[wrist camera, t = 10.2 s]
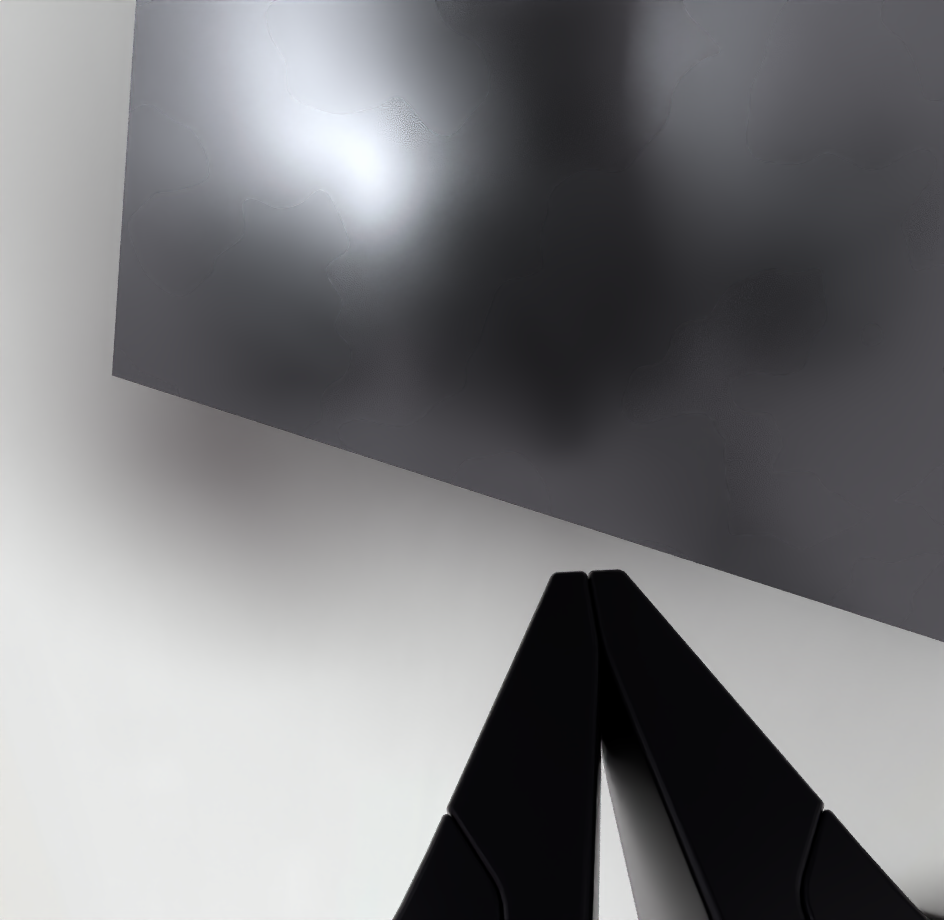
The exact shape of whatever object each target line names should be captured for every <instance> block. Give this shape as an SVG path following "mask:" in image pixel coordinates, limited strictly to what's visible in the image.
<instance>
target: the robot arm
mask: <svg viewBox="0 0 944 920" xmlns="http://www.w3.org/2000/svg"><path fill="white" fill-rule="evenodd" d="M601 751H602V758H603V763H604V768H605V773H606V778H607V783H608V787H609V792H610V796H611V801H612V805H613V809H614V814H615V818H616V823H617V827H618V831H619V836H620V840H621V845H622V849H623V853H624V858H625V862H626V867H627V871H628V875H629V880H630V884H631V889H632V893H633V897H634V902H635V906H636V911H637V915H638V919H639V920H929V919H928V918H927V917H926V916H925V915H924V914H923V913H922V912H921V911H920V910H919V909H918V908H917V907H916V906H915V905H914V904H913V903H912V902H911V901H910V900H909V898H908V897H907V896H906V895H905V894H904V893H903V892H902V891H901V890H900V888H899V887H898V886H897V885H896V884H895V883H894V882H893V881H892V880H891V879H890V877H889V876H888V875H887V874H886V873H885V872H884V871H883V870H882V869H881V867H880V866H879V865H878V864H877V863H876V862H875V861H874V860H873V859H872V858H871V856H870V855H869V854H868V853H867V852H866V851H865V850H864V849H863V848H862V846H861V845H860V844H859V843H858V842H857V840H856V839H855V838H854V837H853V836H852V835H851V833H850V832H849V831H848V830H847V829H846V828H845V826H844V825H843V824H842V823H841V822H840V821H839V819H838V818H837V817H836V816H835V815H834V814H833V812H832V811H830V810H824V811H823V808H824V803H823V802H822V800H821V799H820V798H819V797H818V796H817V794H816V793H815V792H814V791H813V790H812V789H811V787H810V786H809V785H808V784H807V783H806V782H805V780H804V779H803V778H802V777H801V776H800V775H799V773H798V772H797V771H796V770H795V769H794V768H793V767H792V765H791V764H790V763H789V762H788V761H787V760H786V758H785V757H784V756H783V755H782V754H781V753H780V751H779V750H778V749H777V748H776V747H775V746H774V744H773V743H772V742H771V741H770V740H769V739H768V737H767V736H766V735H765V734H764V733H763V732H762V731H761V729H760V728H759V727H758V726H757V725H756V724H755V722H754V721H753V720H752V719H751V718H750V717H749V715H748V714H747V713H746V712H745V711H744V710H743V708H742V707H741V706H740V705H739V704H738V703H737V702H736V700H735V699H734V698H733V697H732V696H731V695H730V693H729V692H728V691H727V690H726V689H725V688H724V686H723V685H722V684H721V683H720V682H719V681H718V679H717V678H716V677H715V676H714V675H713V674H712V673H711V671H710V670H709V669H708V668H707V667H706V666H705V664H704V663H703V662H702V661H701V660H700V659H699V657H698V656H697V655H696V654H695V653H694V652H693V650H692V649H691V648H690V647H689V646H688V645H687V644H686V642H685V641H684V640H683V639H682V638H681V637H680V635H679V634H678V633H677V632H676V631H675V630H674V628H673V627H672V626H671V625H670V624H669V623H668V621H667V620H666V619H665V618H664V617H663V616H662V615H661V613H660V612H659V611H658V610H657V609H656V608H655V606H654V605H653V604H652V603H651V602H650V601H649V599H648V598H647V597H646V596H645V595H644V594H643V592H642V591H641V590H640V589H639V588H638V587H637V586H636V584H635V583H634V582H633V581H632V580H631V579H630V577H629V576H628V575H627V574H626V573H625V572H624V571H622V570H618V569H617V570H595V571H591V572H590V573H589V575H588V576H587V574H586V573H585V572H583V571H574V572H556V573H554V574H553V575H552V576H551V577H550V579H549V582H548V584H547V586H546V588H545V591H544V593H543V595H542V597H541V599H540V602H539V604H538V606H537V608H536V611H535V613H534V615H533V617H532V619H531V622H530V624H529V626H528V628H527V631H526V633H525V635H524V637H523V639H522V642H521V644H520V646H519V648H518V651H517V653H516V655H515V657H514V659H513V662H512V664H511V666H510V668H509V671H508V673H507V675H506V677H505V679H504V682H503V684H502V686H501V688H500V691H499V693H498V695H497V697H496V699H495V702H494V704H493V706H492V708H491V711H490V713H489V715H488V717H487V719H486V722H485V724H484V726H483V728H482V731H481V733H480V735H479V737H478V739H477V742H476V744H475V746H474V748H473V751H472V753H471V755H470V757H469V759H468V762H467V764H466V766H465V768H464V771H463V773H462V775H461V777H460V779H459V782H458V784H457V786H456V788H455V791H454V793H453V795H452V797H451V799H450V802H449V804H448V806H447V813H448V814H445V815H443V817H442V818H441V821H440V823H439V825H438V827H437V830H436V832H435V834H434V836H433V838H432V841H431V843H430V845H429V847H428V850H427V852H426V854H425V856H424V858H423V860H422V862H421V864H420V866H419V868H418V870H417V872H416V874H415V876H414V878H413V880H412V882H411V884H410V887H409V889H408V891H407V893H406V895H405V897H404V899H403V901H402V903H401V905H400V907H399V909H398V910H397V912H396V914H395V916H394V918H393V919H392V920H599V867H600V811H601Z"/></svg>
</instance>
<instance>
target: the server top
mask: <svg viewBox="0 0 944 920" xmlns="http://www.w3.org/2000/svg"><path fill="white" fill-rule="evenodd" d="M112 375H113V376H116V377H120V378H123V379H126V380H129V381H132V382H135V383H138V384H141V385H144V386H148V387H151V388H154V389H157V390H160V391H163V392H166V393H169V394H172V395H176V396H179V397H182V398H185V399H188V400H191V401H194V402H197V403H201V404H204V405H207V406H210V407H213V408H216V409H219V410H222V411H225V412H229V413H232V414H235V415H238V416H241V417H244V418H247V419H250V420H254V421H257V422H260V423H263V424H266V425H269V426H272V427H275V428H278V429H282V430H285V431H288V432H291V433H294V434H297V435H300V436H303V437H307V438H310V439H313V440H316V441H319V442H322V443H325V444H328V445H331V446H335V447H338V448H341V449H344V450H347V451H350V452H353V453H356V454H360V455H363V456H366V457H369V458H372V459H375V460H378V461H381V462H384V463H388V464H391V465H394V466H397V467H400V468H403V469H406V470H409V471H412V472H416V473H419V474H422V475H425V476H428V477H431V478H434V479H437V480H441V481H444V482H447V483H450V484H453V485H456V486H459V487H462V488H465V489H469V490H472V491H475V492H478V493H481V494H484V495H487V496H490V497H494V498H497V499H500V500H503V501H506V502H509V503H512V504H515V505H518V506H522V507H525V508H528V509H531V510H534V511H537V512H540V513H543V514H547V515H550V516H553V517H556V518H559V519H562V520H565V521H568V522H571V523H575V524H578V525H581V526H584V527H587V528H590V529H593V530H596V531H599V532H603V533H606V534H609V535H612V536H615V537H618V538H621V539H624V540H628V541H631V542H634V543H637V544H640V545H643V546H646V547H649V548H652V549H656V550H659V551H662V552H665V553H668V554H671V555H674V556H677V557H681V558H684V559H687V560H690V561H693V562H696V563H699V564H702V565H705V566H709V567H712V568H715V569H718V570H721V571H724V572H727V573H730V574H734V575H737V576H740V577H743V578H746V579H749V580H752V581H755V582H758V583H762V584H765V585H768V586H771V587H774V588H777V589H780V590H783V591H787V592H790V593H793V594H796V595H799V596H802V597H805V598H808V599H811V600H815V601H818V602H821V603H824V604H827V605H830V606H833V607H836V608H839V609H843V610H846V611H849V612H852V613H855V614H858V615H861V616H864V617H868V618H871V619H874V620H877V621H880V622H883V623H886V624H889V625H892V626H896V627H899V628H902V629H905V630H908V631H911V632H914V633H917V634H921V635H924V636H927V637H930V638H933V639H936V640H939V641H942V642H944V0H136V13H135V29H134V44H133V60H132V75H131V91H130V106H129V122H128V137H127V153H126V168H125V184H124V199H123V215H122V230H121V246H120V262H119V277H118V293H117V308H116V324H115V339H114V355H113V370H112Z"/></svg>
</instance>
